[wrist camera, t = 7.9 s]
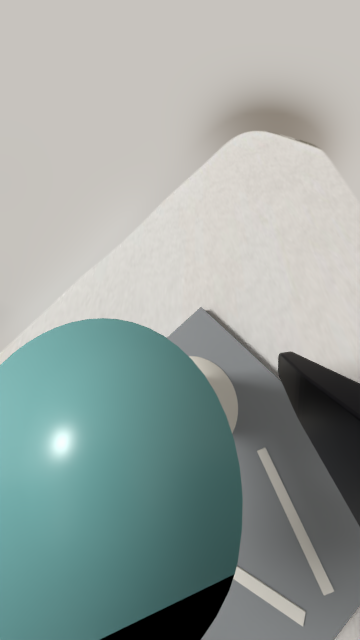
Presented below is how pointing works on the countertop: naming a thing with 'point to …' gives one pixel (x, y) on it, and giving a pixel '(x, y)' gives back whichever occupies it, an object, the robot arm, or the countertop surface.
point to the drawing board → (276, 505)
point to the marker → (113, 488)
